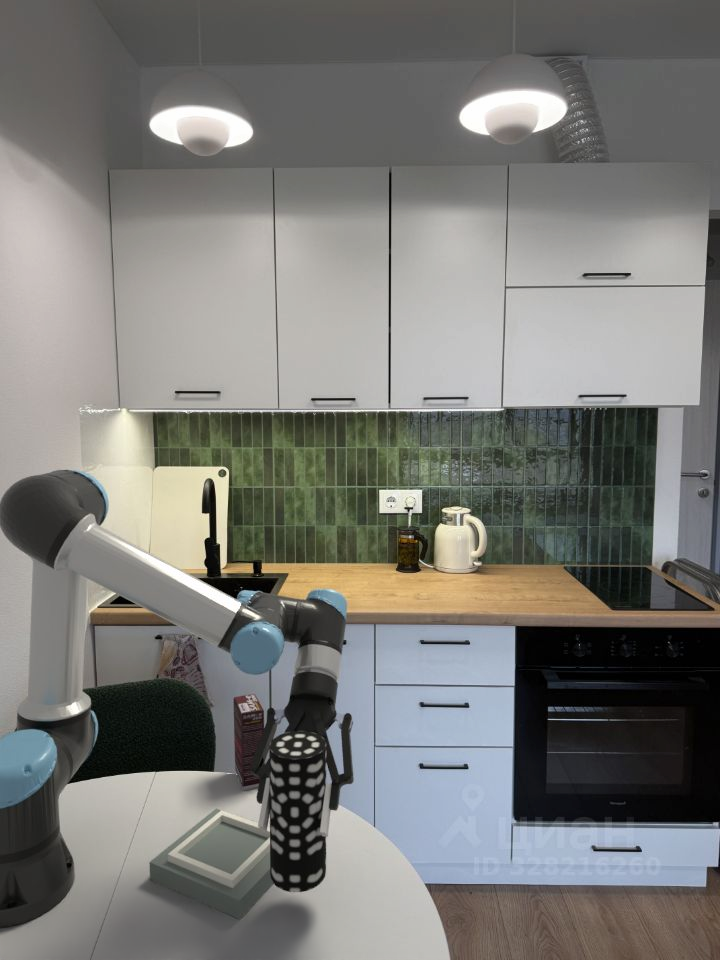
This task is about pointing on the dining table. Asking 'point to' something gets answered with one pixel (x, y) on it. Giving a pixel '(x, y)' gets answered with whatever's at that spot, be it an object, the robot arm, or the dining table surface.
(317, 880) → the black polka dot cylinder
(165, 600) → the robot arm
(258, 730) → the supplement box
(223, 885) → the tray
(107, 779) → the dining table surface
